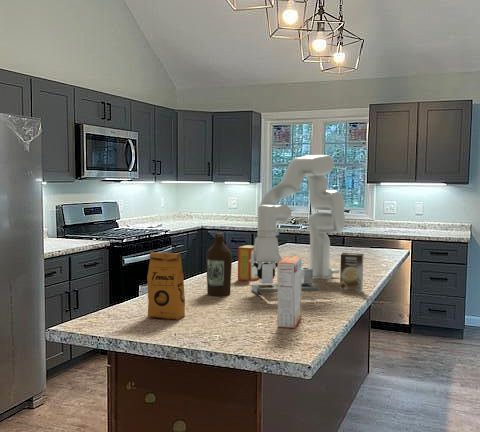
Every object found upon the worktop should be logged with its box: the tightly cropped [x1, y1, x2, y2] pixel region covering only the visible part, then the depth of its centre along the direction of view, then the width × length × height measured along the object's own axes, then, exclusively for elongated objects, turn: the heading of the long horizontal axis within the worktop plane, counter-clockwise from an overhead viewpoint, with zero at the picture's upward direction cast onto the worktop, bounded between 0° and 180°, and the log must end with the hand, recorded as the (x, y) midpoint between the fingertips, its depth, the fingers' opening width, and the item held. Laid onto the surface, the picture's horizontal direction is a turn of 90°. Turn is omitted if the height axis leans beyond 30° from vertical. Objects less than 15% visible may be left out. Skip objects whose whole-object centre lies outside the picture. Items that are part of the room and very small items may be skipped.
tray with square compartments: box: [251, 283, 319, 296], centre depth 223 cm, size 26×10×2 cm, turn 101°
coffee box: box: [339, 252, 364, 294], centre depth 224 cm, size 9×6×16 cm
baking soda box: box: [237, 244, 260, 282], centre depth 250 cm, size 10×6×16 cm
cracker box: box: [276, 256, 302, 329], centre depth 173 cm, size 14×6×21 cm, turn 164°
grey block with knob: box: [259, 262, 274, 284], centre depth 221 cm, size 4×4×8 cm
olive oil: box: [205, 232, 233, 297], centre depth 217 cm, size 11×11×25 cm
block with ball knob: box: [301, 267, 314, 285], centre depth 234 cm, size 4×4×8 cm
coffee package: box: [146, 251, 186, 321], centre depth 179 cm, size 10×12×22 cm
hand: (266, 277), depth 221 cm, fingers closed on grey block with knob, 4 cm apart
